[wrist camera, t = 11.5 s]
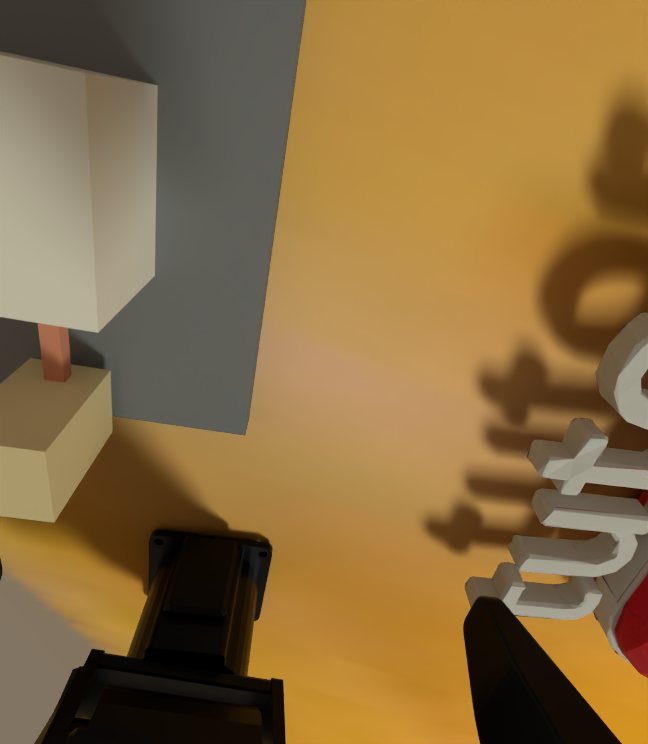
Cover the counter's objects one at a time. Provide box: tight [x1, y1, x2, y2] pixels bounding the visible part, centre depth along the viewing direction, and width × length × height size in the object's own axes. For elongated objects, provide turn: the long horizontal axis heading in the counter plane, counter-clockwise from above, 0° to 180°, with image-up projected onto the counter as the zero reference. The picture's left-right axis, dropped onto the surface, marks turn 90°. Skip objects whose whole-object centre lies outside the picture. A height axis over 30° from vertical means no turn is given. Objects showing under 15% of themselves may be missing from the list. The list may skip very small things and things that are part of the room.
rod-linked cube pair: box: [0, 51, 158, 523], centre depth 14 cm, size 13×6×6 cm, turn 169°
